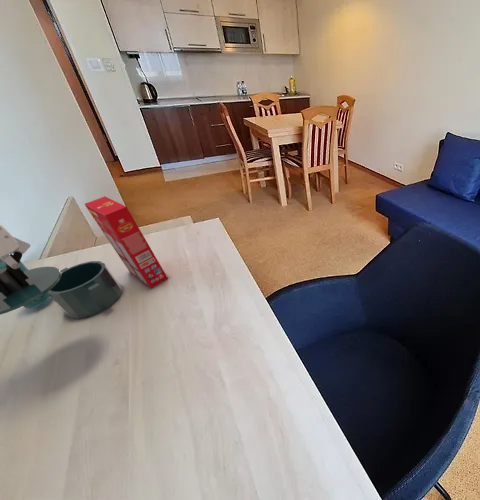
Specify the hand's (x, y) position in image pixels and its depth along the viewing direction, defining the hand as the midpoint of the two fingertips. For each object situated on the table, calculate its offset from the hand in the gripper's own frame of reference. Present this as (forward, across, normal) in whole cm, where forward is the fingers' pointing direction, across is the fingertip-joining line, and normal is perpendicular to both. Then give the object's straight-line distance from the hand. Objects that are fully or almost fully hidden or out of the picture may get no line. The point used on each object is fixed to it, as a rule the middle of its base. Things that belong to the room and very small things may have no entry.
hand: (14, 288), depth 61 cm
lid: (+1, 0, 0) cm, 1 cm away
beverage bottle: (+21, -4, -31) cm, 38 cm away
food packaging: (+21, -26, -12) cm, 35 cm away
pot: (+21, -12, -16) cm, 29 cm away
